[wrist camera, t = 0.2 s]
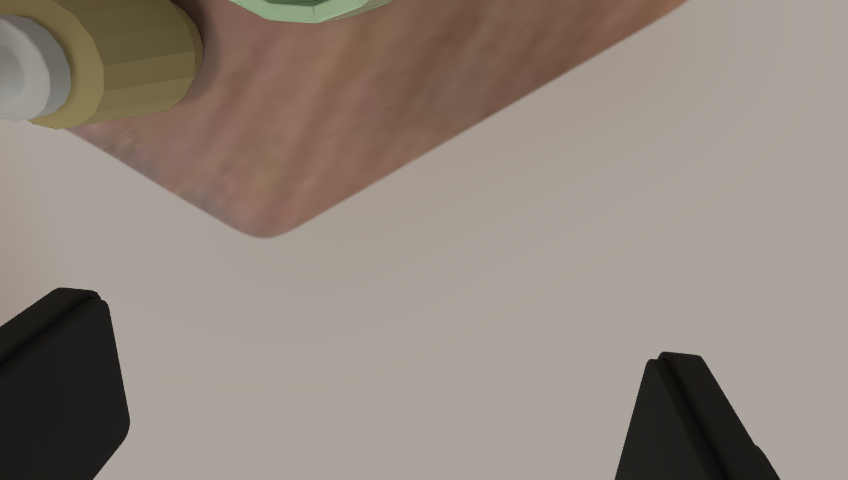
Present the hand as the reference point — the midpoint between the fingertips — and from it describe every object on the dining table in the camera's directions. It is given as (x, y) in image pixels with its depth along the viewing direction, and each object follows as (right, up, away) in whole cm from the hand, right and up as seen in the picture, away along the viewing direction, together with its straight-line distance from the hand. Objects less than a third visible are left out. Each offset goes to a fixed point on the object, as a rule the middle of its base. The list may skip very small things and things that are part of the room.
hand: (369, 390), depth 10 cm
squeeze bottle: (-17, +16, +29) cm, 37 cm away
